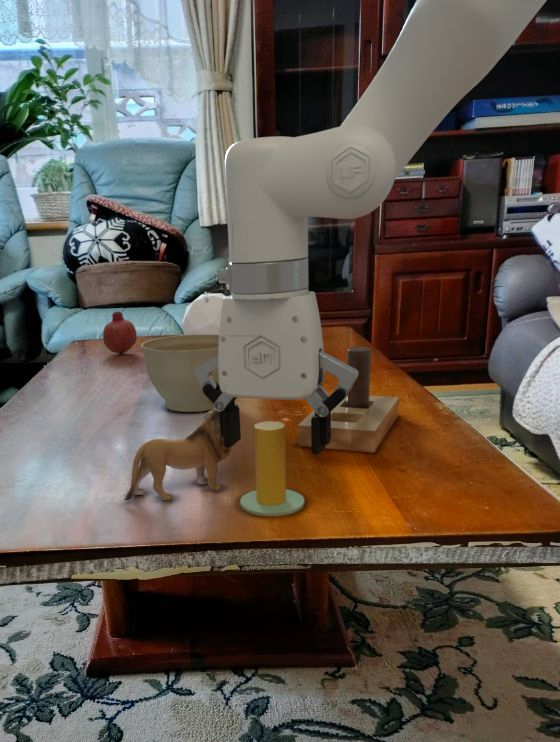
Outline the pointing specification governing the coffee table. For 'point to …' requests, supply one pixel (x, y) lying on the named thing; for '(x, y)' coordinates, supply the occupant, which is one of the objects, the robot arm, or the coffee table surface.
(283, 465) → the yellow peg
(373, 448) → the stand
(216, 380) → the planter bowl
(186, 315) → the geodesic sphere
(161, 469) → the lion figurine
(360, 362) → the walnut peg
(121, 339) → the fruit
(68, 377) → the coffee table surface
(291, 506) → the coaster
